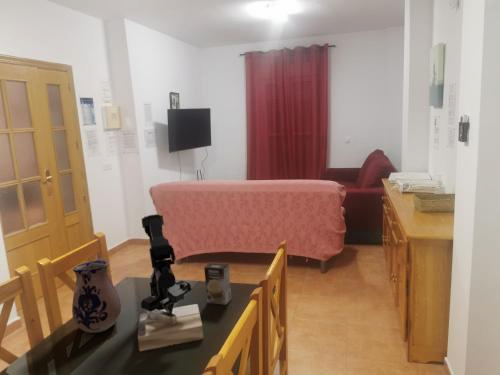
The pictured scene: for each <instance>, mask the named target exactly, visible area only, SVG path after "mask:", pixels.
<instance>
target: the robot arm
mask: <svg viewBox="0 0 500 375" xmlns="http://www.w3.org/2000/svg"><path fill="white" fill-rule="evenodd" d="M164 224H165V222H164V217H163V215H160V214H150V215H147V216H144V217H143V218H141V226H142V229H143V230H144V232H145V233H144V234H146V235H147V237H148V239H149V247H150V248H149V251H148V252H149V256H150V262H151V267H152V270H153V271H152V273H151V274H150V282H149V291H150V296H148V297H146V298H144V299H142V300H141V301H140V306H141V309H144V310H148V311H153V310H155V309H157V310H166V312H168V313H172V311H173V308H174V307H175V304H176V303H178V302H180V301H181V300H184V299H185V295H187V294H188V293H189V292H191V291H192V285H191V283H189V282H187V281H184V280H180V281H178V282H176V276H175V274H174V271H173V269H172V265H174V264H176V263H175V261H176V256H175V250H174V247H173V245H172V244H170V242H169V239H167V238H165V237H164V232H163V225H164Z"/></svg>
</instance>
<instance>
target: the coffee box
mask: <svg viewBox="0 0 500 375" xmlns="http://www.w3.org/2000/svg"><path fill="white" fill-rule="evenodd" d="M229 266H230V265H229V263H226V262H225V263H224V262H211V261H209V263H208V264H206V265H205V266H204V269H203V270H204V280H205V291H206V300H207V302H206V303H208V304H214V305H215V304H217V305H226V306H227V304H228V303H229V302H230V300H232V290H231V278H230V267H229Z"/></svg>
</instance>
